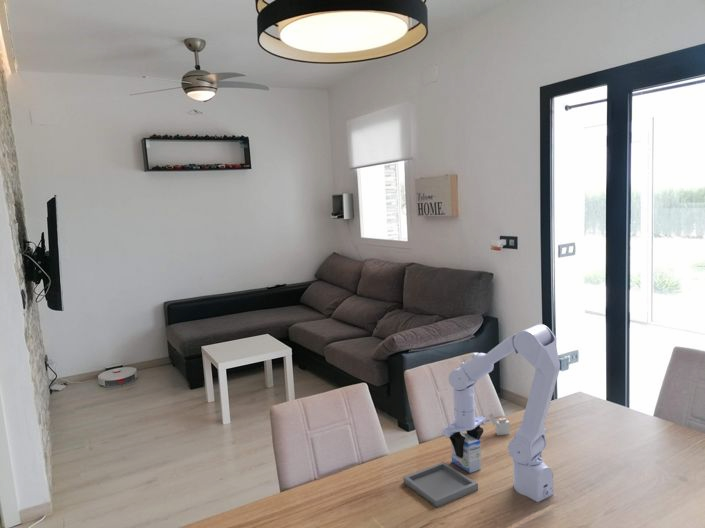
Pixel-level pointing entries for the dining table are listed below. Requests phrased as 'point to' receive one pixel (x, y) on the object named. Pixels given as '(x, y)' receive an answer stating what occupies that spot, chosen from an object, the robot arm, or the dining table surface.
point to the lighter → (500, 425)
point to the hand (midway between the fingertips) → (466, 454)
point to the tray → (440, 484)
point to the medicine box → (468, 454)
